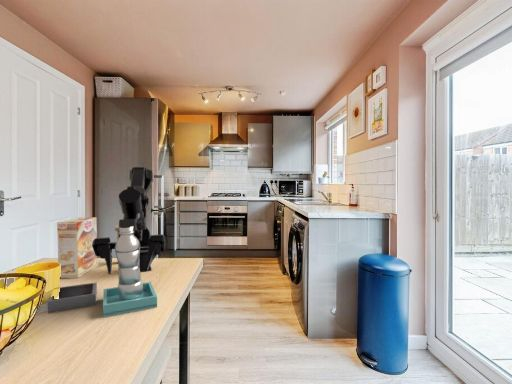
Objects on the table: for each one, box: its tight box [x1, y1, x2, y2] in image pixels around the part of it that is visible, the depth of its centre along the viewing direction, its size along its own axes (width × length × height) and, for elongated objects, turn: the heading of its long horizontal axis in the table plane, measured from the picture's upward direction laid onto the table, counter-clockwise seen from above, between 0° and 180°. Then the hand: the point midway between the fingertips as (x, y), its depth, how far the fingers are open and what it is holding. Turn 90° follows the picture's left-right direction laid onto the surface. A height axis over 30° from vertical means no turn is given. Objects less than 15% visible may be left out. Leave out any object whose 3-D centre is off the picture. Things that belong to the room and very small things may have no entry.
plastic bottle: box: [114, 226, 144, 300], centre depth 80 cm, size 6×7×20 cm
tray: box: [102, 281, 158, 318], centre depth 80 cm, size 13×13×3 cm
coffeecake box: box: [56, 216, 98, 279], centre depth 108 cm, size 15×7×20 cm, turn 5°
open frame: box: [46, 281, 98, 314], centre depth 81 cm, size 11×11×3 cm
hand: (128, 271), depth 79 cm, fingers open, 9 cm apart
